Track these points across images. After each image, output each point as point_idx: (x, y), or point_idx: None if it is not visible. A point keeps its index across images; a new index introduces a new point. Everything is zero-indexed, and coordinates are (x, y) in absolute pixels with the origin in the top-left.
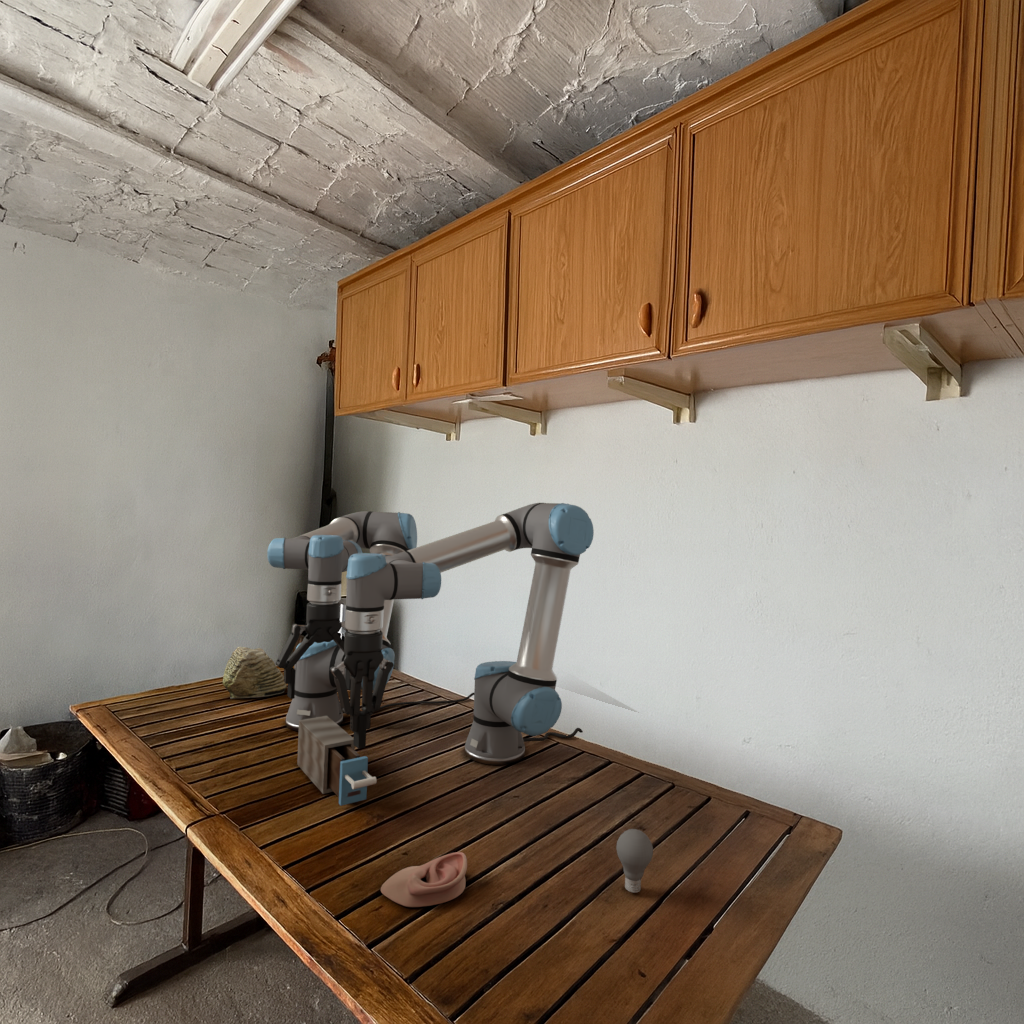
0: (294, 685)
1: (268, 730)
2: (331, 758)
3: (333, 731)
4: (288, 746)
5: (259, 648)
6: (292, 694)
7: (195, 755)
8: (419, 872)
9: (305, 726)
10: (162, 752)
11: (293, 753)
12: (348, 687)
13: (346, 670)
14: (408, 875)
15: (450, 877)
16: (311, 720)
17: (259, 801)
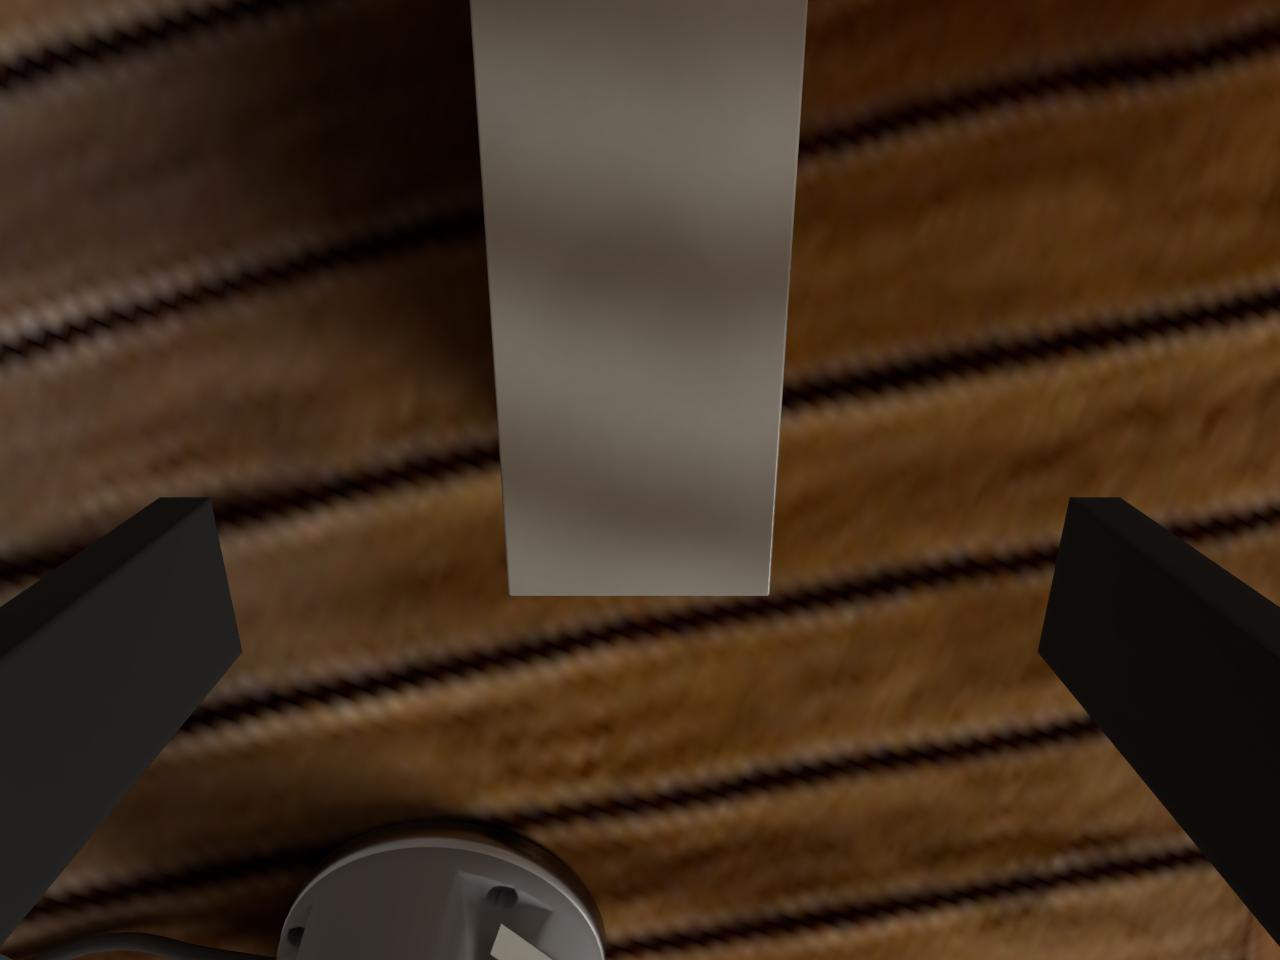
0: (1208, 593)
1: (701, 941)
2: None
3: (591, 149)
4: (681, 717)
5: None
6: (1137, 527)
7: (1124, 814)
8: None
9: (779, 424)
10: (1228, 906)
11: (689, 619)
12: (198, 547)
13: (58, 823)
14: None
15: None
16: (675, 541)
17: (1122, 53)
